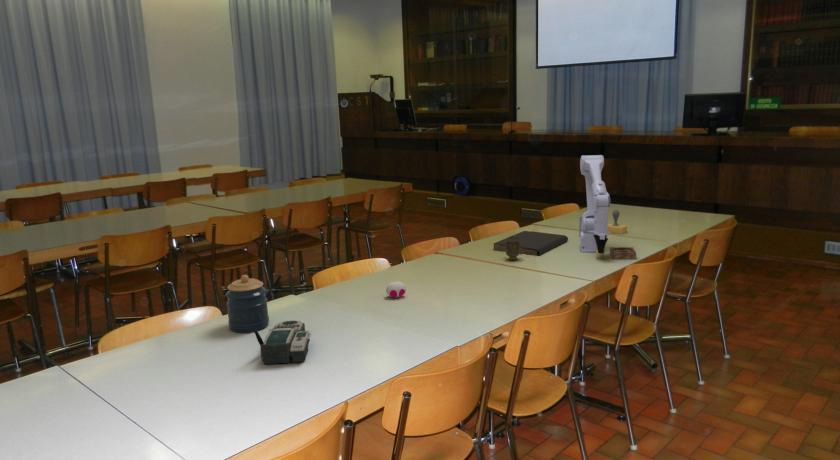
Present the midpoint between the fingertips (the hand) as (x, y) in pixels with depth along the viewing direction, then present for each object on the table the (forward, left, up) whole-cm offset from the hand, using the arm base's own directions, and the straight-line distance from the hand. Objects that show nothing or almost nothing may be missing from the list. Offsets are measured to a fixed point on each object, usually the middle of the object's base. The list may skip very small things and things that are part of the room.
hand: (600, 252), depth 275 cm
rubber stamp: (+13, +55, -3) cm, 57 cm away
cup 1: (-38, -4, -3) cm, 38 cm away
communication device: (-101, -110, -3) cm, 149 cm away
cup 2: (-2, +43, -3) cm, 43 cm away
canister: (-121, -95, -3) cm, 154 cm away
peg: (0, 0, -3) cm, 3 cm away
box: (+10, +4, -3) cm, 11 cm away
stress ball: (-78, -61, -3) cm, 99 cm away
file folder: (-30, +23, -4) cm, 38 cm away
